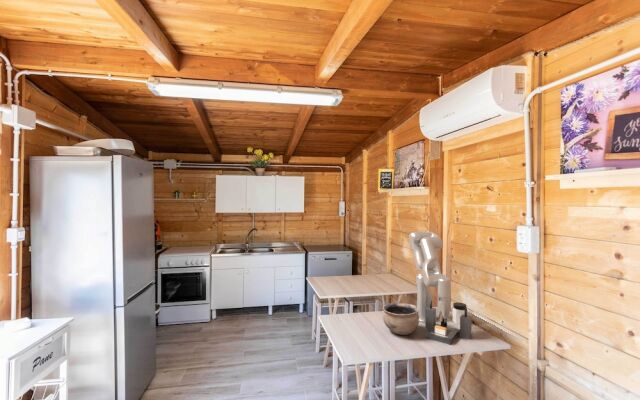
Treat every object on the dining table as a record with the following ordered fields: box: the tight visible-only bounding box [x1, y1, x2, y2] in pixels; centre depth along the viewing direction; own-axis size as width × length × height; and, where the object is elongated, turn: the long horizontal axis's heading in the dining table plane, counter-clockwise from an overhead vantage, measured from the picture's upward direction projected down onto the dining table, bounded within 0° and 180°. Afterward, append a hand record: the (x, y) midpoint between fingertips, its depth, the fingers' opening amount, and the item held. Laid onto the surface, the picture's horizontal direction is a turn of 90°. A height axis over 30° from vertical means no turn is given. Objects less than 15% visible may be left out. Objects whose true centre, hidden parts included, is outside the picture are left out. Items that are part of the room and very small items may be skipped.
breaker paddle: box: [435, 325, 447, 335], centre depth 186 cm, size 6×2×4 cm, turn 50°
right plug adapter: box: [459, 306, 472, 340], centre depth 189 cm, size 5×5×17 cm
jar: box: [451, 302, 467, 325], centre depth 211 cm, size 9×8×12 cm
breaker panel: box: [425, 323, 460, 345], centre depth 189 cm, size 14×18×3 cm
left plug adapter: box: [424, 299, 437, 330], centre depth 202 cm, size 5×5×17 cm
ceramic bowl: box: [382, 302, 420, 336], centre depth 195 cm, size 22×22×15 cm
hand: (443, 328), depth 191 cm, fingers closed
